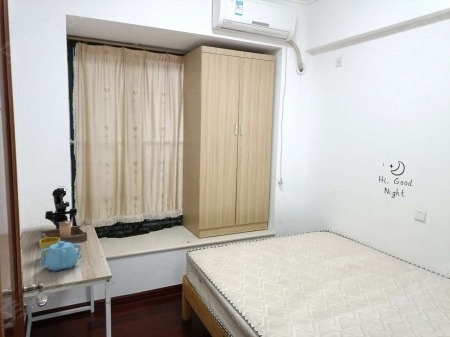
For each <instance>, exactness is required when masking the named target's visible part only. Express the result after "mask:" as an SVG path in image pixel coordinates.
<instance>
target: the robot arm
mask: <svg viewBox="0 0 450 337" xmlns="http://www.w3.org/2000/svg"><path fill="white" fill-rule="evenodd" d="M51 195H52V197H53V202H54V203H53V204H54V209H55V211H54V210H46V211H45V215H44V219H45V220H48V221H50V222H51V223H53V225H54V226H55V229H59V222H63V221H71V224H72V222H73V218H74V217H75V216H76V215H77V213H78V210H77V208H75V207H74V208H70V209H69V210H67V208H68V207H70V202H69V201H65V203H64V201H63V197H64V196H65V195H66V191H64V188H58V187H57V188H56V189H54V190H53V191H52V194H51ZM53 211H54V212H53ZM67 215H69V217H68V216H67ZM68 219H69V220H68Z"/></svg>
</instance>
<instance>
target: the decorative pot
mask: <svg viewBox="0 0 450 337" xmlns="http://www.w3.org/2000/svg"><path fill="white" fill-rule="evenodd" d="M74 246H79V247H78V250H77V249H76V247H75V248H74ZM47 250H48V251H47ZM81 250H82V246H81V245H80V244H79V243H78V244H72V243H70V242H64V241H60V242H58V243H57V244H53V245H51V246H50V247H49V248H46V249H43V250H41V251H40V257H41V260H40V261H39V265H40V266H42V267H43V266H45V267H46V268H47V269H48V270H49V271H50V270H51V271H53V272H58V271H60V270H64V269H72V268H73V267H74V266H76V264H78V261H79V260H80V259H82V257H83V254H82V253H81ZM44 251H47V253H46V256H45V258H44V257H43V252H44Z"/></svg>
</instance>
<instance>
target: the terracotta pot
mask: <svg viewBox="0 0 450 337" xmlns="http://www.w3.org/2000/svg"><path fill="white" fill-rule="evenodd" d="M71 227H72V223H71V221H70V220H68V221H63V222H59V228H60V238H63V237H69V236H71Z"/></svg>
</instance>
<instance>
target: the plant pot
mask: <svg viewBox="0 0 450 337" xmlns="http://www.w3.org/2000/svg"><path fill="white" fill-rule="evenodd" d="M58 242H60V238H58V237H48V238H44V239H40V240H39V241H38V244H39V245H38V246H39V248H40V250H41V251H42V250H43V249H46V248H49V247H50V246H51V245H53V244H57V243H58ZM47 251H48V250H47ZM47 251H44V252H43V257H44V258H45V256H46V253H47Z"/></svg>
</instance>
